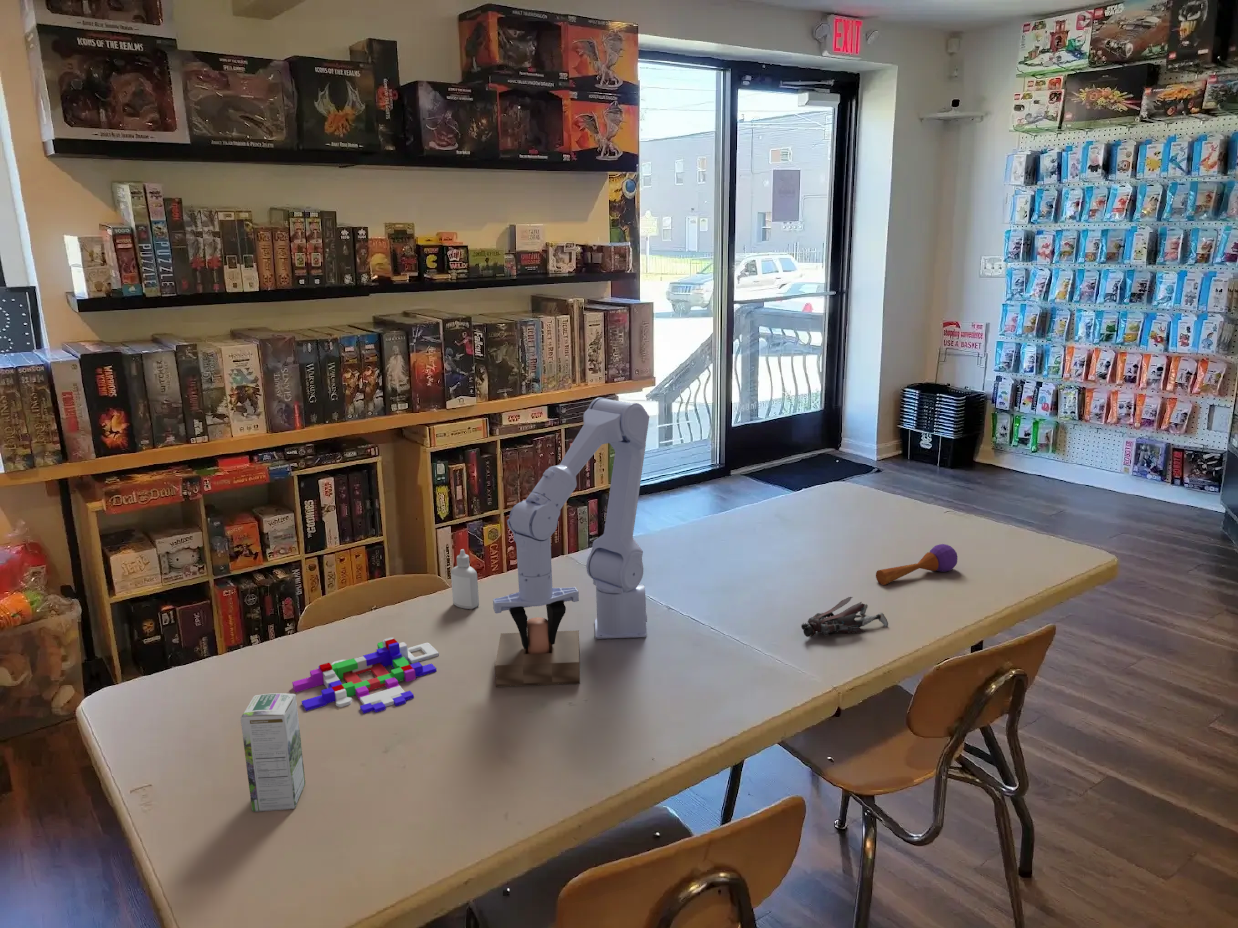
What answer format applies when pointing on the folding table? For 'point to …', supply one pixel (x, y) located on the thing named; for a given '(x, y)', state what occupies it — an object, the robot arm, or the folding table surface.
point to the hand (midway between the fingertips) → (538, 643)
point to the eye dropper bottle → (464, 583)
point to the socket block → (538, 661)
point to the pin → (537, 636)
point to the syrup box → (273, 752)
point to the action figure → (841, 620)
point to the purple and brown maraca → (922, 564)
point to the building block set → (348, 670)
